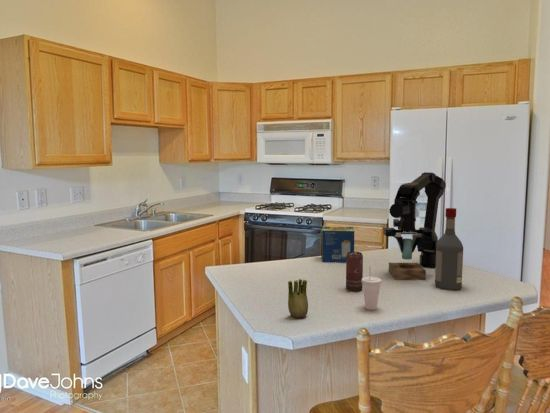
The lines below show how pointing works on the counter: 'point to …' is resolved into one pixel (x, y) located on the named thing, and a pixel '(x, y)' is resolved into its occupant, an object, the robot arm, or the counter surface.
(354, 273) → the can
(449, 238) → the liquor
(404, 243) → the pin
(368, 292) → the smoothie
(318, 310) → the counter surface
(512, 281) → the counter surface
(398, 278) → the socket block
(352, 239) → the protein box
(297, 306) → the fennel bulb
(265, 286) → the counter surface
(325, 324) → the counter surface
